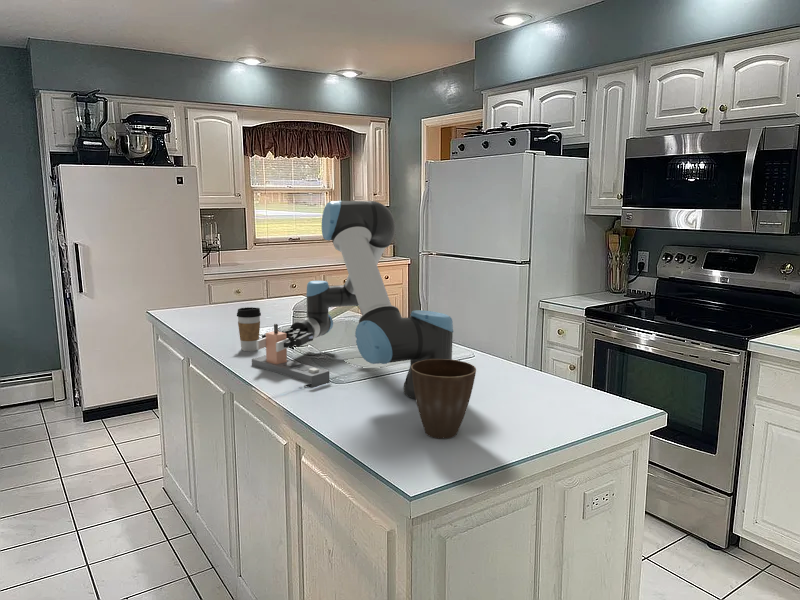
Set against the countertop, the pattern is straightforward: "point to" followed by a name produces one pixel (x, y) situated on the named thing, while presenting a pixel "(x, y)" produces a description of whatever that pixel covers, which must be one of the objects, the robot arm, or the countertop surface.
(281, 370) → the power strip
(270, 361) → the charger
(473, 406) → the countertop surface
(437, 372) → the plant pot
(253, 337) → the coffee cup
